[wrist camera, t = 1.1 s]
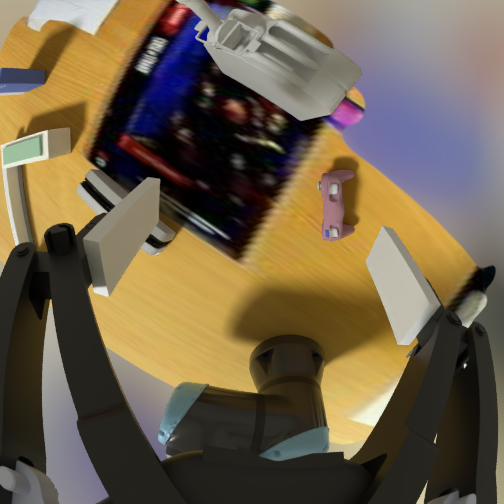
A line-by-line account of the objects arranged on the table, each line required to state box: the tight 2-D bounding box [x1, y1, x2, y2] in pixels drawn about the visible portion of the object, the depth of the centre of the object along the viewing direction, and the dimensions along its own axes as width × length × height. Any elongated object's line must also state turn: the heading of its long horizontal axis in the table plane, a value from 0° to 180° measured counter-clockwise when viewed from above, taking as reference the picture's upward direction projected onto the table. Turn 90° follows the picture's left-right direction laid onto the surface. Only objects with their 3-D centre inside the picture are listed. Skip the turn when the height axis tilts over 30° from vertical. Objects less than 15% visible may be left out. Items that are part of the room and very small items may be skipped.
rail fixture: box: [1, 127, 71, 246], centre depth 36 cm, size 28×17×7 cm, turn 177°
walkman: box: [0, 68, 46, 96], centre depth 23 cm, size 8×3×12 cm, turn 86°
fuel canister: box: [176, 0, 362, 121], centre depth 19 cm, size 15×5×25 cm, turn 56°
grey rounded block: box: [76, 169, 176, 256], centre depth 35 cm, size 17×5×10 cm, turn 48°
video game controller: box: [318, 169, 355, 241], centre depth 36 cm, size 10×5×7 cm, turn 6°
